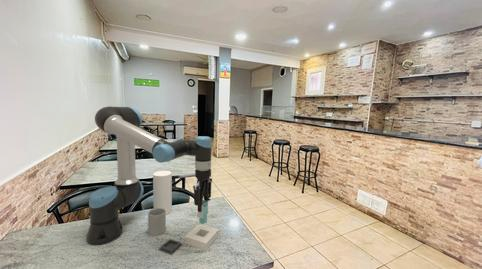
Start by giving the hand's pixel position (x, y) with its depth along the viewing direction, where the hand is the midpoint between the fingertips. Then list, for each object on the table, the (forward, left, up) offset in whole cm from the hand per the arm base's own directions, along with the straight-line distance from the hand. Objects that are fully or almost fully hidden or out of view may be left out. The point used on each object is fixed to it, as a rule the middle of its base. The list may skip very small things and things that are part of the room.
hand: (203, 215), depth 99 cm
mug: (-26, -2, -14) cm, 30 cm away
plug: (0, 0, -3) cm, 3 cm away
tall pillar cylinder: (-38, +14, -14) cm, 43 cm away
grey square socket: (-10, -11, -13) cm, 20 cm away
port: (0, 0, -13) cm, 13 cm away
